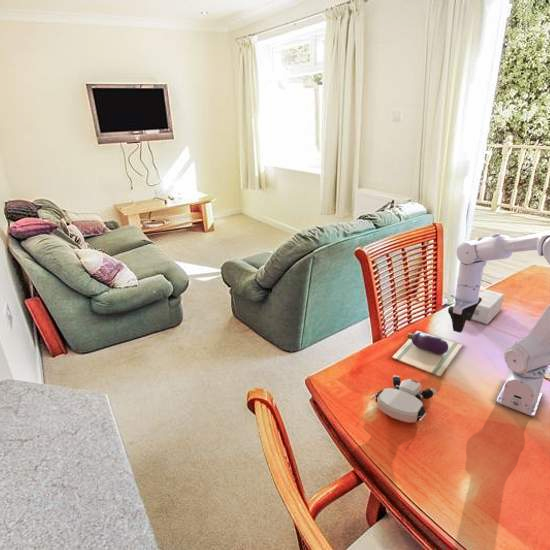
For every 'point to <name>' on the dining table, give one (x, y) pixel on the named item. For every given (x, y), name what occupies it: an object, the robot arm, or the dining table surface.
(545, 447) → the dining table surface
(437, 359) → the towel
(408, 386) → the robot toy
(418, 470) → the dining table surface
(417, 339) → the eggplant
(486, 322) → the small box
